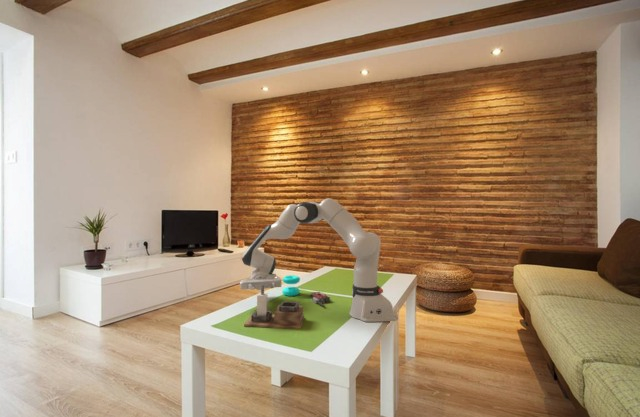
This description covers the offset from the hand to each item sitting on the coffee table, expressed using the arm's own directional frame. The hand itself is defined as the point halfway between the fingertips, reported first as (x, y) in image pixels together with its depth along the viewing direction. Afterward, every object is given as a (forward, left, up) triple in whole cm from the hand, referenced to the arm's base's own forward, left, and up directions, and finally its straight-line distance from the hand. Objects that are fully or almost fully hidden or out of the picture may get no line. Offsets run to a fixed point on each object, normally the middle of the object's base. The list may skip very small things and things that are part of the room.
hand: (262, 287), depth 152 cm
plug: (-3, +12, -11) cm, 16 cm away
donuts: (-9, -32, -12) cm, 35 cm away
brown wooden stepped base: (-9, +12, -12) cm, 19 cm away
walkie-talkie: (-27, -20, -13) cm, 36 cm away
